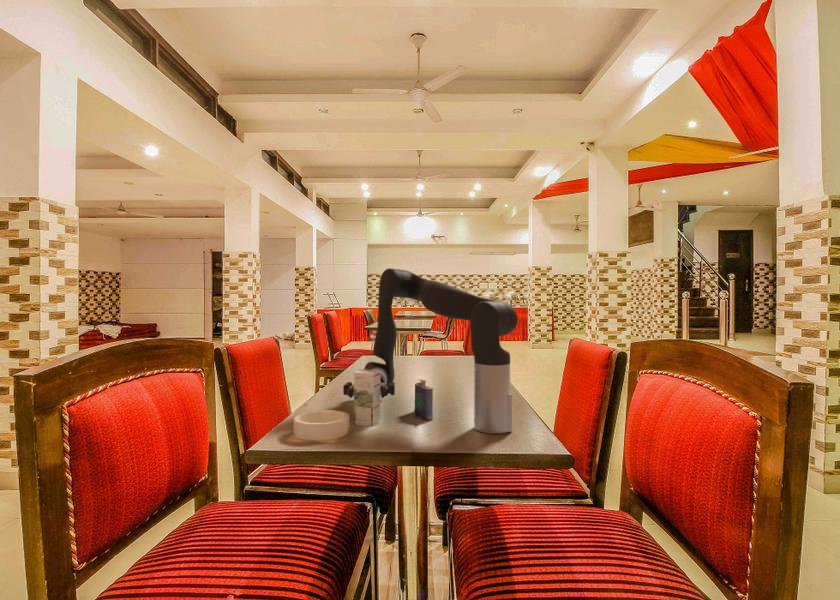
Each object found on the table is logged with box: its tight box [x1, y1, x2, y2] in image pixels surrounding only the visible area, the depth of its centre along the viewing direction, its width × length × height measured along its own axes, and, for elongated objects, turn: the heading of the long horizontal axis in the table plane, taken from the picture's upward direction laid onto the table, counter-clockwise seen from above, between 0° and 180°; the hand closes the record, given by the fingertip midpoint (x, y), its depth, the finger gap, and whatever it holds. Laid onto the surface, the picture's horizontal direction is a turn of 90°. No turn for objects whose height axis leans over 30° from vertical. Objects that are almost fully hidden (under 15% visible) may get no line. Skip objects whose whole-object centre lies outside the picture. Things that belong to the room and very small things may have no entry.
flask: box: [413, 378, 434, 421], centre depth 128 cm, size 9×3×11 cm, turn 25°
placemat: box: [284, 424, 355, 443], centre depth 110 cm, size 14×14×1 cm
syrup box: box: [353, 368, 381, 427], centre depth 120 cm, size 6×6×14 cm
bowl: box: [293, 409, 350, 441], centre depth 110 cm, size 13×13×4 cm
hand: (366, 394), depth 119 cm, fingers open, 8 cm apart
